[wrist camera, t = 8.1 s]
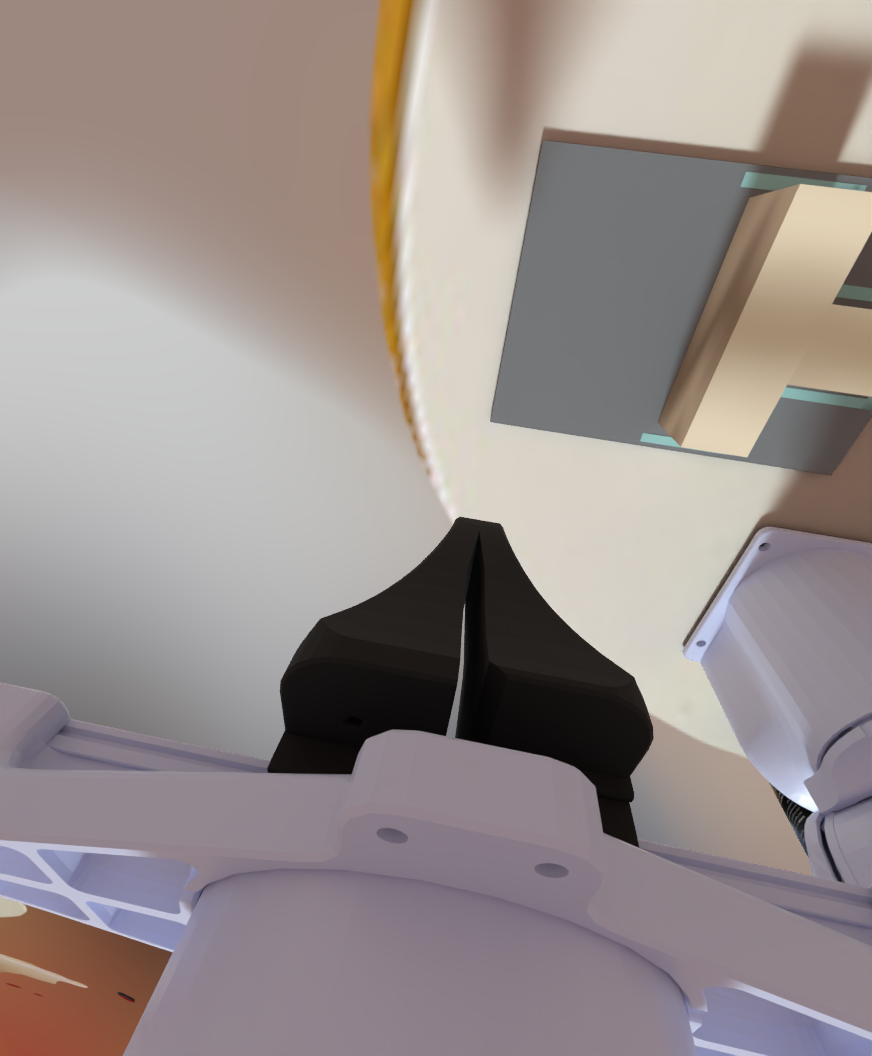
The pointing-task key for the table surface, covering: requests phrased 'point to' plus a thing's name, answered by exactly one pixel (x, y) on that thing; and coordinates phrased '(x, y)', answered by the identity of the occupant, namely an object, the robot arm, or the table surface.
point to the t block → (775, 319)
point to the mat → (648, 301)
